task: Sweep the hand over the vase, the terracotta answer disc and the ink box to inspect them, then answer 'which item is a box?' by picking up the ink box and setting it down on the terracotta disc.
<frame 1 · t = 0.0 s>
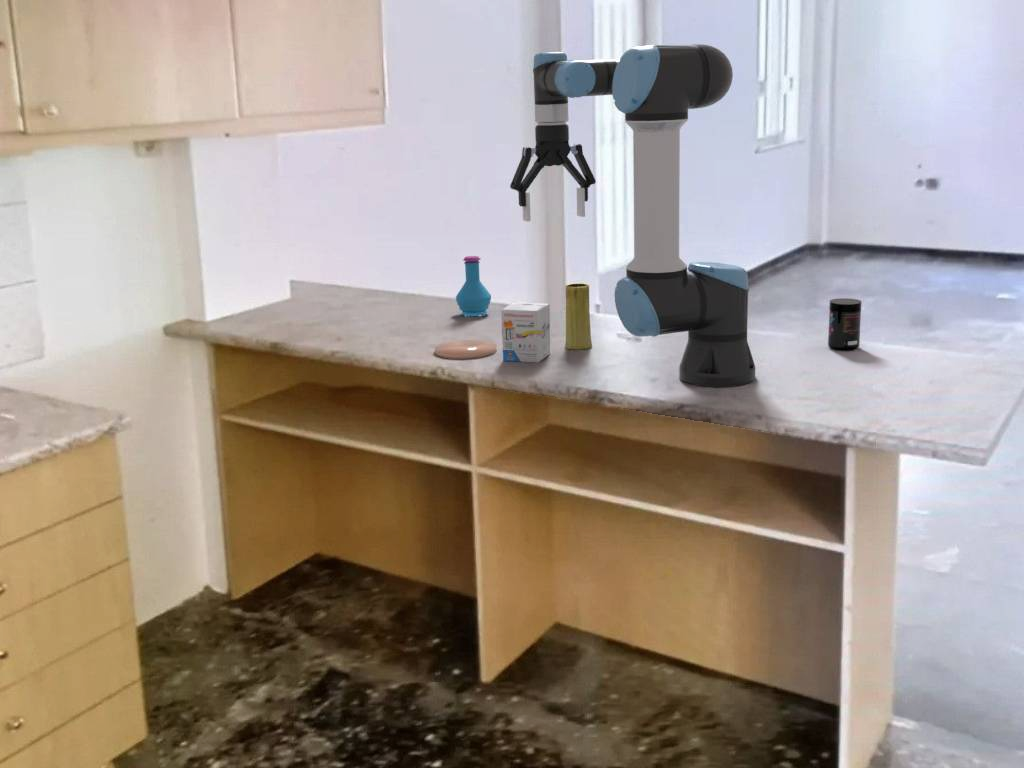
hand: (554, 218, 266), 28 cm above the countertop, fingers open, 13 cm apart
perfume bottle: (474, 314, 303), on the countertop
ink box: (526, 358, 256), on the countertop
supplement container: (843, 348, 254), on the countertop
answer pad: (465, 351, 263), on the countertop
vase: (578, 347, 264), on the countertop
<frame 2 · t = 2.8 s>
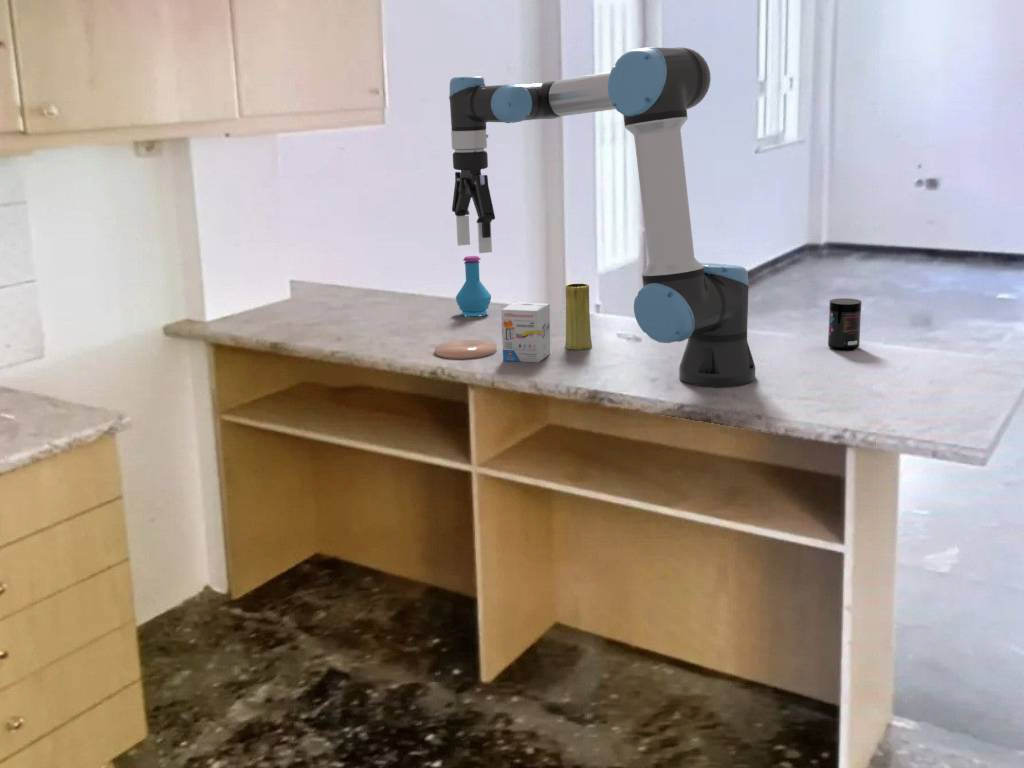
hand: (474, 248, 255), 24 cm above the countertop, fingers open, 13 cm apart
nothing on the countertop moved.
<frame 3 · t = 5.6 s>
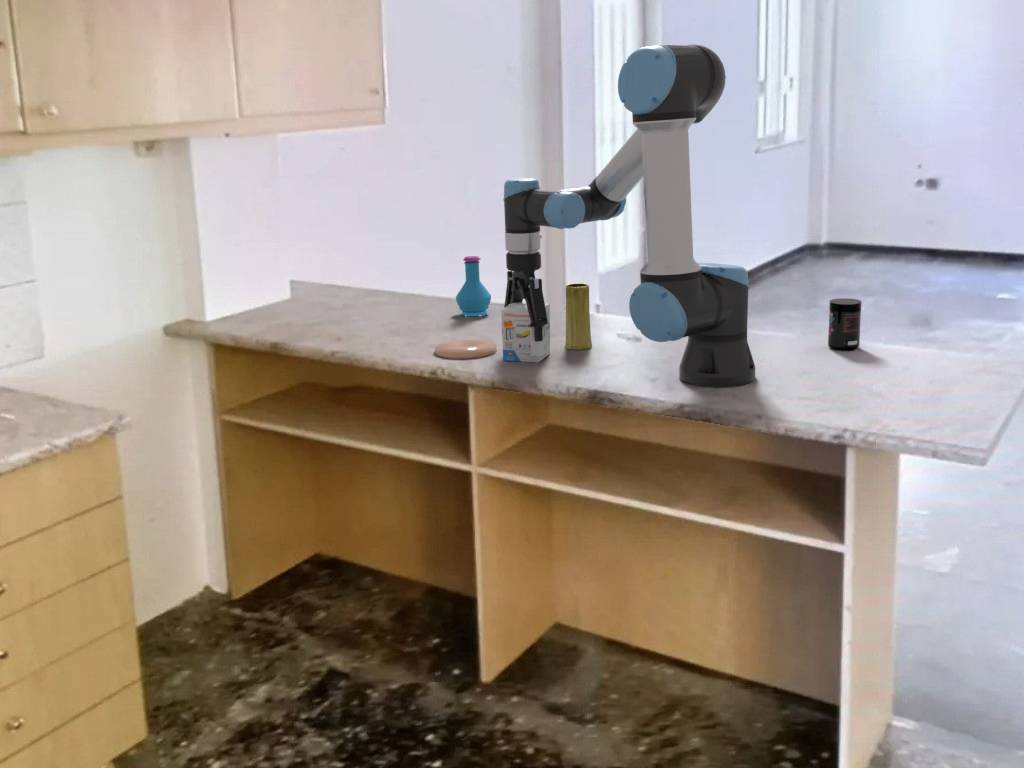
hand: (526, 349, 255), 2 cm above the countertop, fingers closed on ink box, 11 cm apart
ink box: (526, 358, 256), on the countertop, touching gripper
everything else where it was.
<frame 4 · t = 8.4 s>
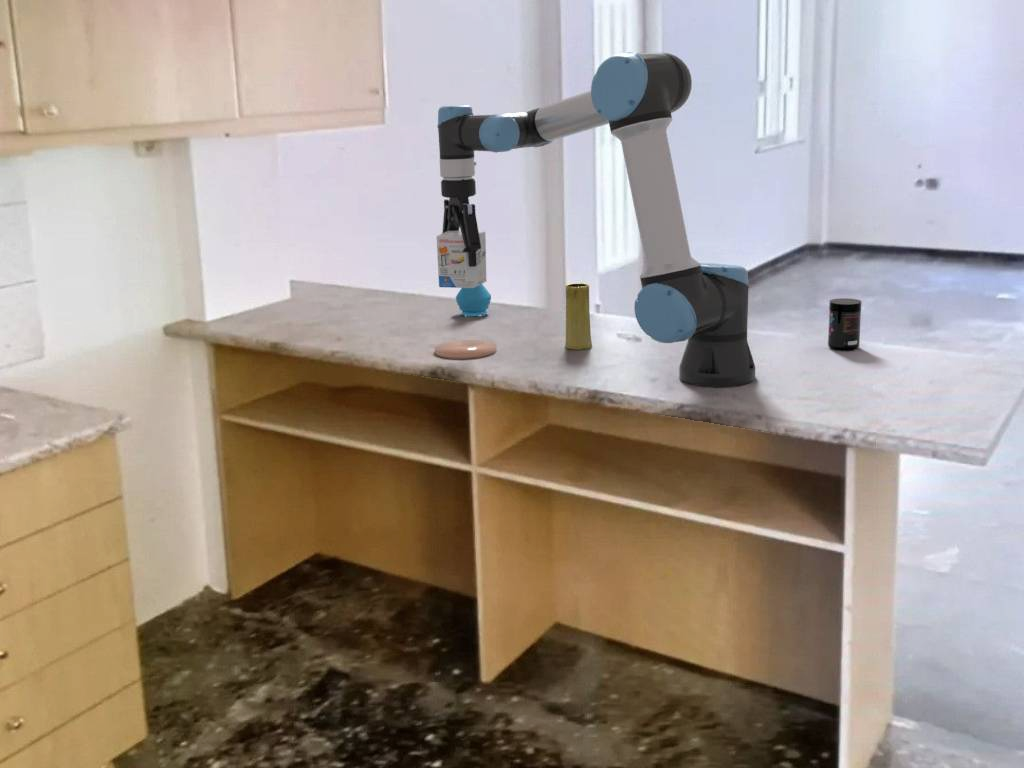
hand: (462, 276, 259), 17 cm above the countertop, fingers closed on ink box, 11 cm apart
ink box: (463, 285, 259), point 15 cm above the countertop, touching gripper
everything else where it was.
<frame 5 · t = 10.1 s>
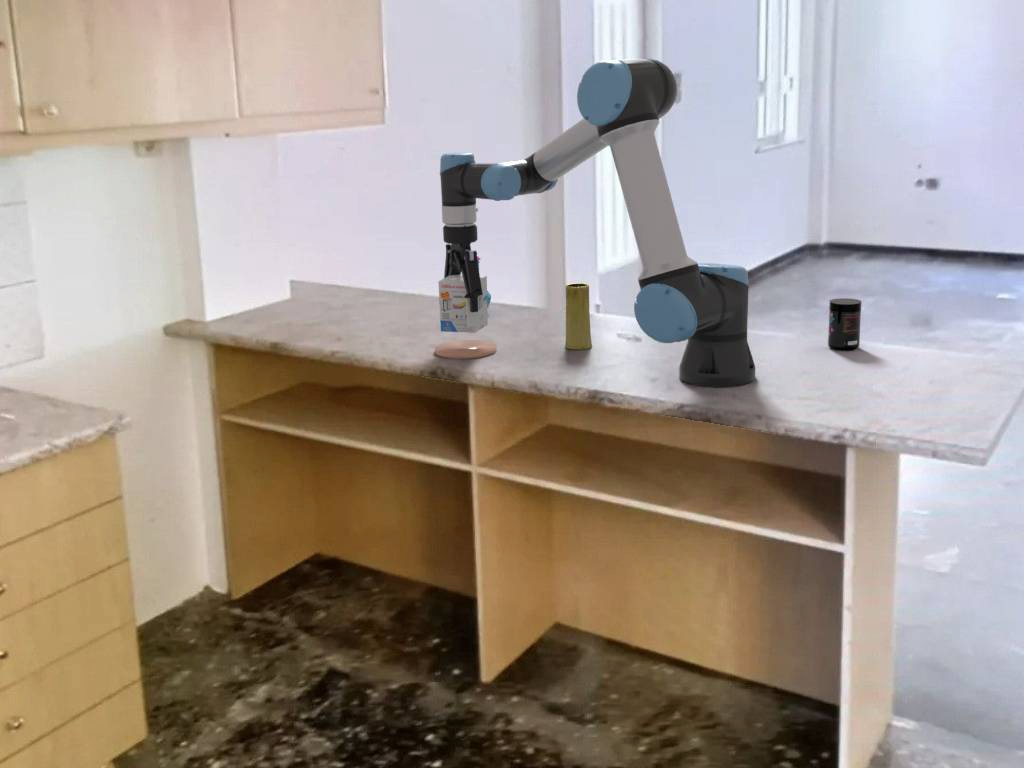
hand: (464, 320, 261), 7 cm above the countertop, fingers closed on ink box, 11 cm apart
ink box: (464, 329, 262), point 5 cm above the countertop, touching gripper
everything else where it was.
when the fingers open (4 cm above the countertop, at t = 11.5 s): ink box stays where it is, resting on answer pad.
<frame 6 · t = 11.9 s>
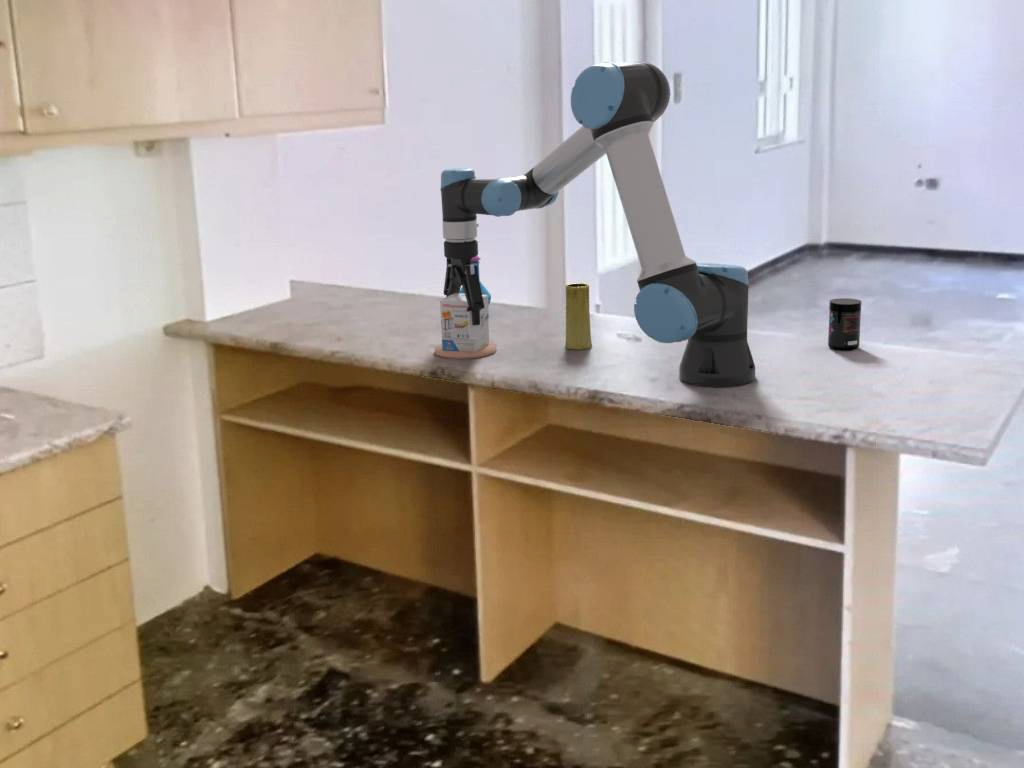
hand: (464, 333, 262), 4 cm above the countertop, fingers open, 13 cm apart
ink box: (466, 348, 263), point 1 cm above the countertop, touching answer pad
everything else where it was.
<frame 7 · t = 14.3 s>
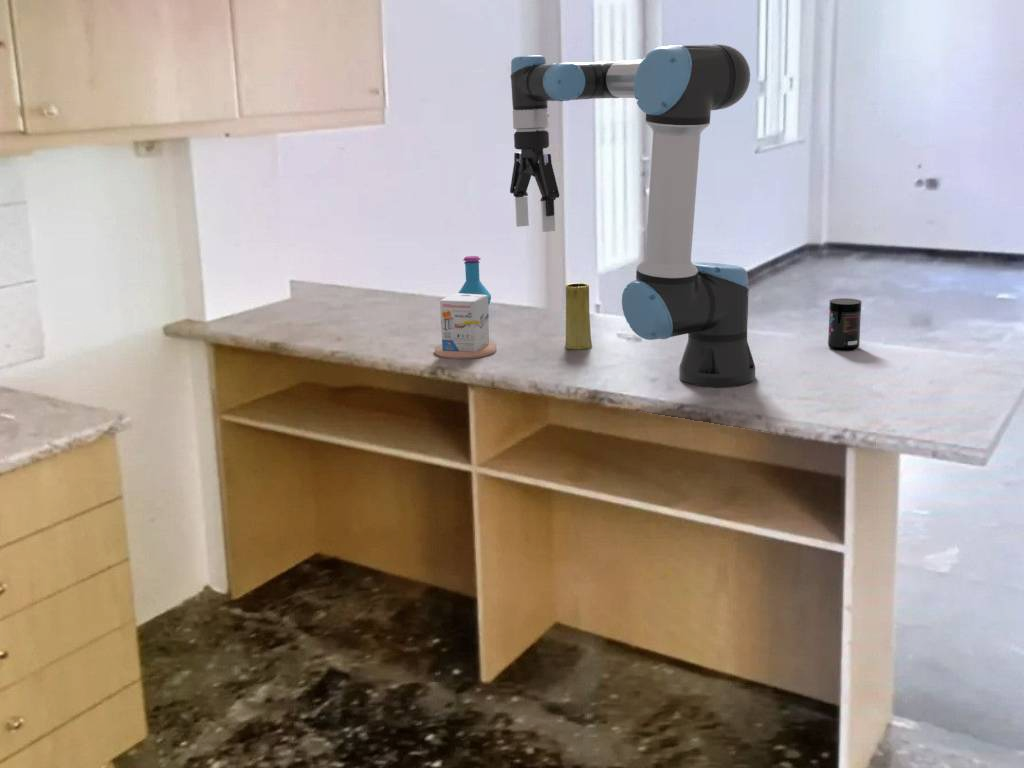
hand: (535, 228, 256), 27 cm above the countertop, fingers open, 13 cm apart
nothing on the countertop moved.
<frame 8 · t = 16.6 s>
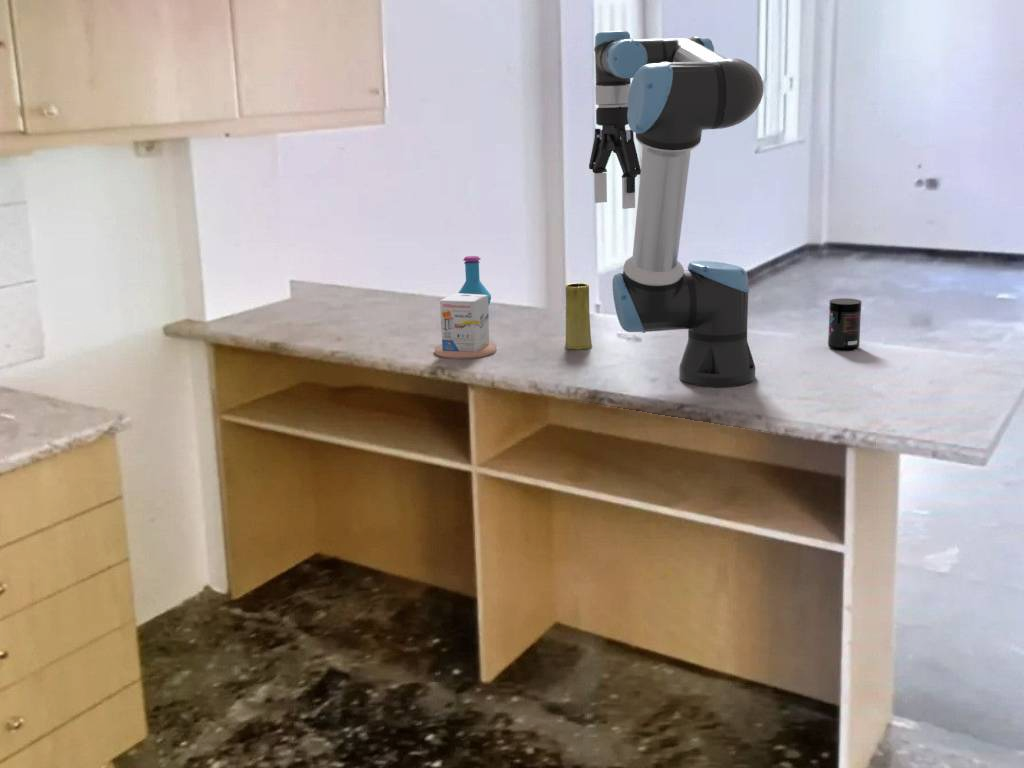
hand: (614, 205, 255), 32 cm above the countertop, fingers open, 13 cm apart
nothing on the countertop moved.
at the end: ink box 0.2 cm from the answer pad (horizontally); ink box tilted 0°; the gripper is holding nothing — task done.
